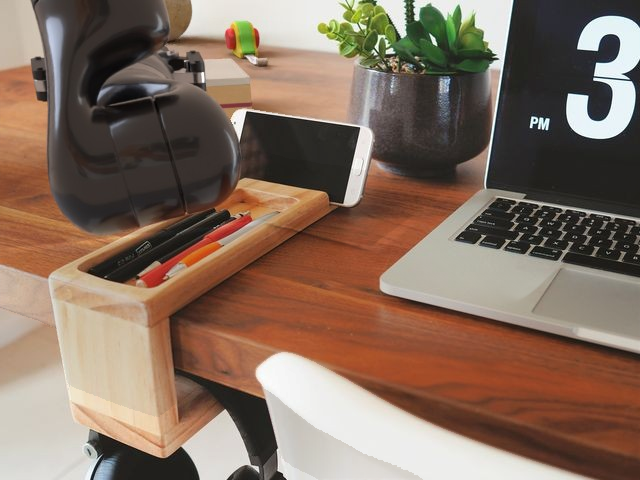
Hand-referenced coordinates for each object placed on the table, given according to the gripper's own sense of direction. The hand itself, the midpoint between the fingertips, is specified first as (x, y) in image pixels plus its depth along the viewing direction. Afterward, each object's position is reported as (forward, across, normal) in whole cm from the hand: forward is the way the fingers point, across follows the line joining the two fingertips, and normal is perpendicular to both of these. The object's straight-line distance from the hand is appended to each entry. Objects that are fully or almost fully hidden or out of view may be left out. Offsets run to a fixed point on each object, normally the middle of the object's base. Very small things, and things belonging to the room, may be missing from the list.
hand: (116, 59), depth 68 cm
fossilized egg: (+98, -14, +14) cm, 100 cm away
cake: (+33, -11, +14) cm, 37 cm away
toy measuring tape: (+74, -27, +14) cm, 80 cm away
